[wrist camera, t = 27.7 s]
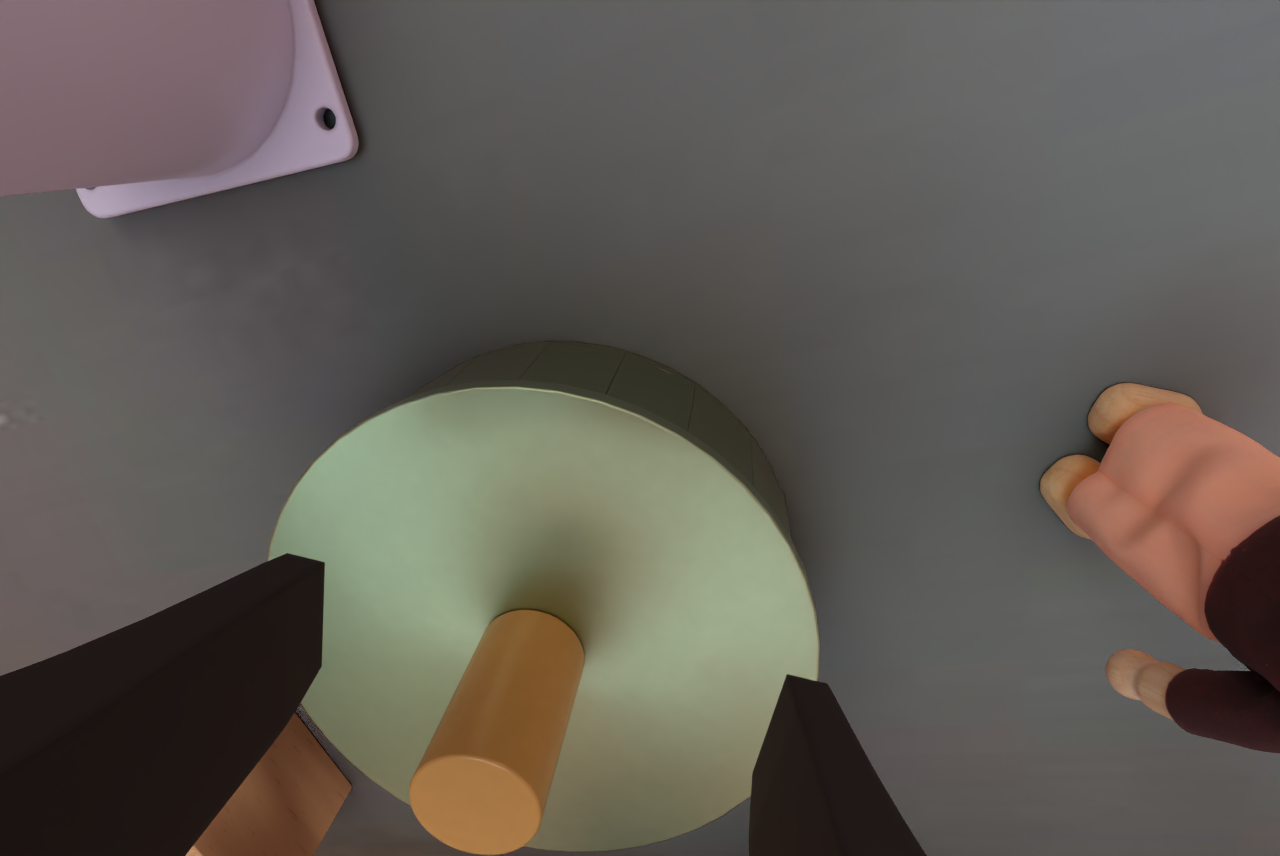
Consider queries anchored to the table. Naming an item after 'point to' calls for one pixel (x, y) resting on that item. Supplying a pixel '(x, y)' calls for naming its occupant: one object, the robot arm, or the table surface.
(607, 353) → the tin
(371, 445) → the tin lid
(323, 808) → the block
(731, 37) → the table surface
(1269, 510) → the grandmother figurine
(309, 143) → the robot arm
